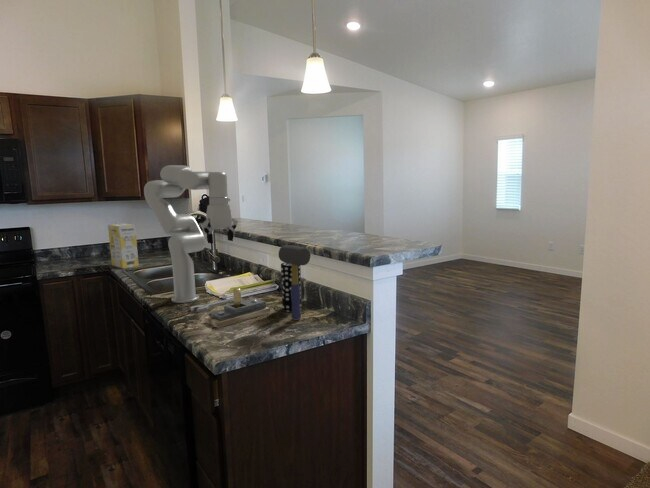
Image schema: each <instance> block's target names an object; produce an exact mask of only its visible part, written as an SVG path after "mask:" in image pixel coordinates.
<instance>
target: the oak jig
mask: <svg viewBox="0 0 650 488" xmlns="http://www.w3.org/2000/svg"><path fill="white" fill-rule="evenodd" d="M270 313H271V307H268V306H266V309H262V310H259V311H255V312H252V313H248V314H244V315H241V316H237V317H234V318H230V319H227V320H223V321H218V320H216V319H213V318H211V317H209V315H208V316H204V322H205V323H206V324H208V325H211V326H212V327H215V328H218V329H220V328H223V327H227V326H230V325H233V324H237V323H240V322H243V321H248V320H251V319H254V318H257V317H261V316H264V315H268V314H270Z"/></svg>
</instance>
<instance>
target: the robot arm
mask: <svg viewBox="0 0 650 488" xmlns="http://www.w3.org/2000/svg"><path fill="white" fill-rule="evenodd" d="M159 173H160V174H159V175H160V178H161V179H156V180H155V179H154V180H150V181H148V182H146V184H145V185H144V187H143V194H144V198H145V202H146V203H147V205H148V206H149V207H150V209H151V210H152V211H153V213H154V214H155V217H156V218H157V220H158V222H159V223H160V226H161V228H162V230H163V231H164V233H165V234H166V235H169V236H170V238H169V239H168V244H167V245H168V249H169V254H170V258H171V267H172V268H171V269H172V278H173V281H172V282H173V294H174V296H172V297H171V300H170V301H171V302H172V303H177V304H185V303H192V302H195V301H197V300H199V299H200V295H199V294H196V282H195V280H196V279H195V268H194V266H195V265H194V260H193V259H192V258H191V256H190V255H189V254H190V253H191V254H192V253H196V252H200V251H203V250H204V249H205V248H206V245H207V244H211V245H212V244H214V236H213V231H214V230H218V229H219V230H221V229H227V234H226V235H227V241H230V242H233V241H234V232H235V229H236V228H237V225H238V223H239V221H238V220H236V219H235V218H233V217H232V210H231V207H230V204H229V202H230V201H231V198H230V197H228V182H227V181H228V180H227V179H228V178H227V177H228V176H227V173H226V172H224V171H193V170H192V169H191V167H189V166H188V165H178V164H174V165H173V164H172V165H171V164H169V165H165V166H163V167H162V168H161V170H160V172H159ZM186 190H192V191H193V190H195V191H197V190H199V191H200V190H208V198H209V199H208V202H209V204H208V205H207V207H206V218H205V220H203V222H201V223H200V225H199V224H198V221H197V220H196V219H195V217H194V216H193V215H192V214H190V213H180V214H178V213H177V212H176V211H175V209H174V207H173V206H172V205H171V203H170V202H168V201H167V200H165V198H178V197H180V196H182V194H183V193H184V192H185V191H186ZM203 232H204V233H205V234H206V238H205V235H204V233H203Z"/></svg>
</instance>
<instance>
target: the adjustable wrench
mask: <svg viewBox="0 0 650 488" xmlns="http://www.w3.org/2000/svg"><path fill="white" fill-rule="evenodd" d="M231 302H233V303H234V296H233V297H231V298H226V299H221V300H218V301H215V302H211V303H207V304H200V305H199V304H198V305H193V306H191V307H190V312H193V311H196V312H197V313H199V312H200V313H201V312H205V311H209V309H210V308H213V307H218V306H220V305H224V304H225V305H226V304H229V303H231Z"/></svg>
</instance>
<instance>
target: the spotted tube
mask: <svg viewBox="0 0 650 488" xmlns="http://www.w3.org/2000/svg"><path fill="white" fill-rule="evenodd" d="M301 273H302V272H301V265H298V284H299V287H300V311H302V309H303V307H302V306H303V305H302V276H301V275H302V274H301ZM280 276H281V278H280V279H281V280H280V281H281V306H282V309H281V310H282V311H283V312H287V313H288V312H289V313H292V300H291V285H292V264H289V263H285V262H282V263H280Z"/></svg>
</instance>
